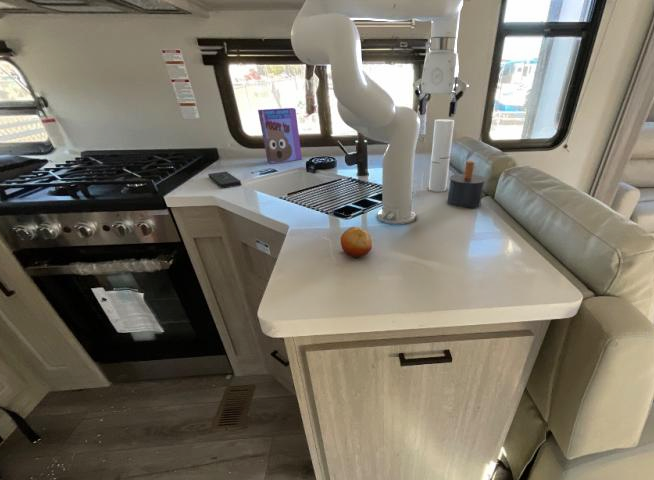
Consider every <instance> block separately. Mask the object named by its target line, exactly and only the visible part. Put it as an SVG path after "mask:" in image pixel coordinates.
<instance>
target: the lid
mask: <svg viewBox="0 0 654 480" xmlns="http://www.w3.org/2000/svg"><path fill="white" fill-rule="evenodd" d="M474 167H475V161H474V160H466V161H465V165H464V173H454V174H451V175H450V176H449V181H450V180H451V181H452V182H455V183H459V184H466V185H478V184H483V183H484V184H485V183H486V182H487V179H486V177H484V176H482V175H478V174H474Z"/></svg>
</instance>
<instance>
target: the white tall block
mask: <svg viewBox="0 0 654 480" xmlns="http://www.w3.org/2000/svg"><path fill="white" fill-rule="evenodd" d="M454 126H455V120H454V119H449V118H448V119H446V118H437V119H434V125H433V136H432V148H431V158H430V160H431V161H430V169H429V179H428V181H429V182H428V190H429V191H430V192H437V193H439V192H445V191H446V190H447V184H448V176H449V168H450V160H451V153H452V152H451V150H452V144H453V135H454V128H455V127H454Z"/></svg>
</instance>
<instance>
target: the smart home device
mask: <svg viewBox="0 0 654 480" xmlns="http://www.w3.org/2000/svg"><path fill="white" fill-rule="evenodd" d="M207 175H208V178H209V179H210V180H211V181H212V182H213V183H215V184H216V185H217V186H218V187H219V188H221V189H225V188H226V189H227V188H231V187H232V188H233V187H239V186H241V185H242V182H241V180H240V179H239V178H237V177H235V176H234V175H232V173H229V171H219V172H211V173H208V174H207Z"/></svg>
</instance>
